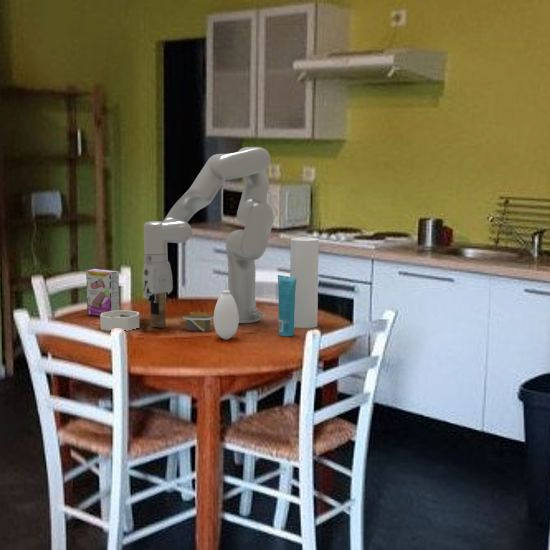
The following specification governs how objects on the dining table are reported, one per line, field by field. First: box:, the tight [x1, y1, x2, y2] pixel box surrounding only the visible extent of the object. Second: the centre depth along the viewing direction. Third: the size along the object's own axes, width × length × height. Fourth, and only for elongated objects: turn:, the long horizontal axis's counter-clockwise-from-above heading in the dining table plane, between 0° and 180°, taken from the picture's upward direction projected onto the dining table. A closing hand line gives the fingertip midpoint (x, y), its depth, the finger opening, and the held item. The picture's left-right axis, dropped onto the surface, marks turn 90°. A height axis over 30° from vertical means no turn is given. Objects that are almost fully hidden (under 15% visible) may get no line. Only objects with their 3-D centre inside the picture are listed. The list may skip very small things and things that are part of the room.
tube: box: [277, 274, 297, 337], centre depth 259 cm, size 7×5×19 cm, turn 57°
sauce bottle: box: [213, 282, 240, 340], centre depth 253 cm, size 8×8×18 cm
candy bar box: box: [85, 268, 120, 318], centre depth 288 cm, size 11×5×16 cm, turn 63°
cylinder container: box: [289, 236, 320, 329], centre depth 273 cm, size 9×9×30 cm
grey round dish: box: [99, 309, 140, 332], centre depth 270 cm, size 13×13×4 cm
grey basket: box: [182, 311, 214, 332], centre depth 265 cm, size 12×18×7 cm, turn 86°
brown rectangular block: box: [149, 293, 167, 329], centre depth 269 cm, size 4×2×12 cm, turn 55°
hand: (158, 313), depth 270 cm, fingers closed on brown rectangular block, 2 cm apart
